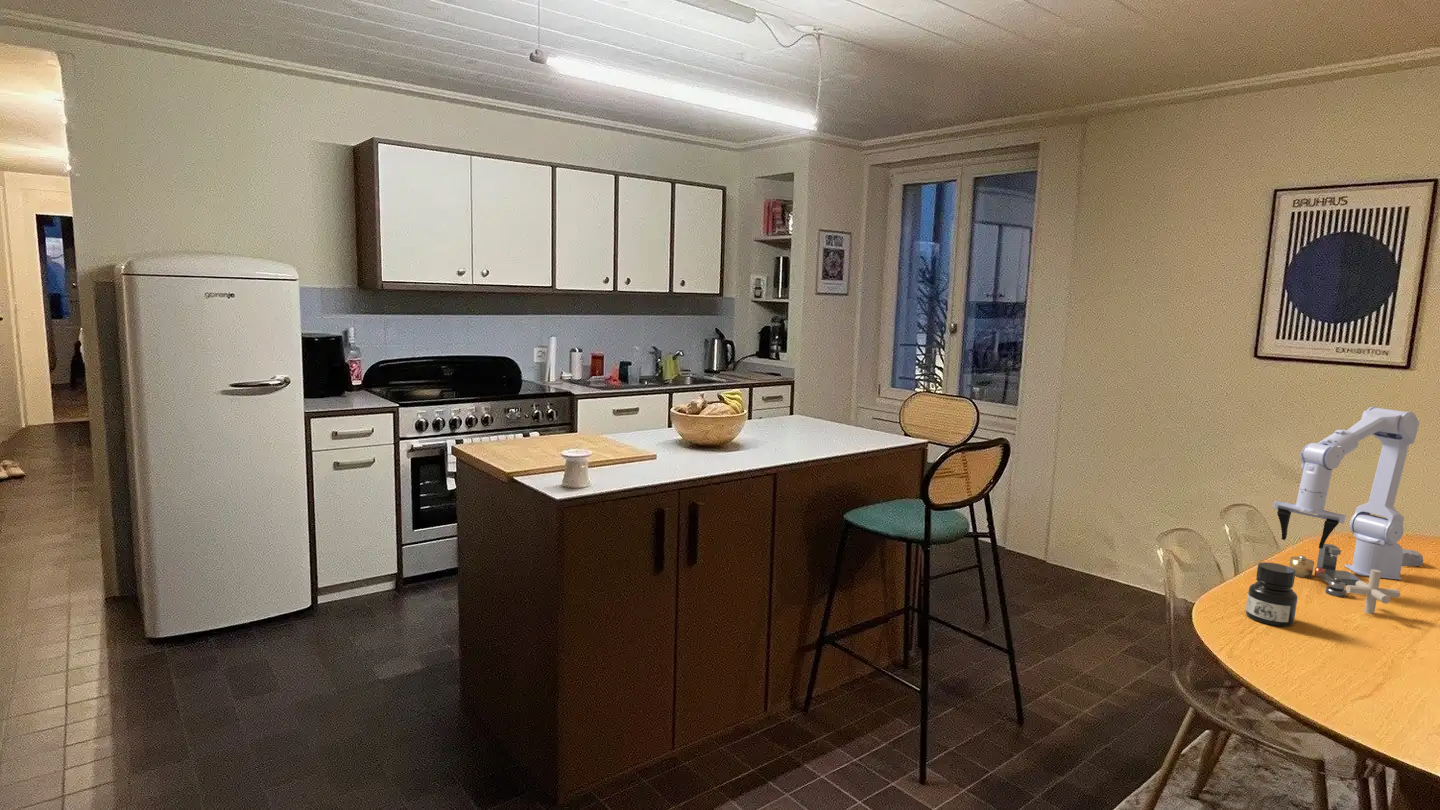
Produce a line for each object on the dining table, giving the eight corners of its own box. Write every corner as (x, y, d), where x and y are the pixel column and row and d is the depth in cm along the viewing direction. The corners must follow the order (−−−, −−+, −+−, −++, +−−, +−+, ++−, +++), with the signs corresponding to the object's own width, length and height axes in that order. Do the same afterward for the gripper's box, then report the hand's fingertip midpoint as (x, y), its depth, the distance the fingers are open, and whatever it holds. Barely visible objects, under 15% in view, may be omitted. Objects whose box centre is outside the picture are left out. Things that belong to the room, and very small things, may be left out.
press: (1337, 570, 211) (1341, 545, 210) (1361, 586, 199) (1365, 559, 198) (1307, 567, 213) (1311, 542, 212) (1329, 582, 201) (1333, 556, 200)
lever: (1324, 575, 202) (1325, 567, 202) (1346, 591, 191) (1348, 583, 191) (1310, 574, 203) (1311, 566, 202) (1332, 589, 192) (1333, 581, 192)
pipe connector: (1408, 623, 176) (1415, 580, 175) (1357, 618, 178) (1364, 575, 177) (1380, 606, 186) (1387, 565, 185) (1332, 601, 188) (1339, 561, 186)
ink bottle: (1235, 615, 177) (1242, 563, 176) (1254, 607, 182) (1261, 557, 180) (1284, 631, 169) (1292, 577, 168) (1303, 623, 174) (1311, 571, 172)
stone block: (1390, 573, 217) (1427, 567, 216) (1389, 556, 216) (1426, 550, 216) (1356, 560, 229) (1391, 555, 228) (1355, 544, 228) (1390, 538, 228)
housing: (1306, 573, 208) (1309, 554, 207) (1315, 579, 203) (1318, 560, 202) (1284, 571, 209) (1287, 552, 208) (1293, 577, 204) (1295, 558, 204)
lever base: (1340, 592, 195) (1343, 576, 194) (1349, 598, 191) (1351, 582, 190) (1322, 590, 196) (1324, 574, 195) (1330, 595, 192) (1332, 580, 191)
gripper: (1276, 485, 200) (1265, 537, 201) (1348, 499, 190) (1336, 554, 192) (1280, 483, 205) (1269, 534, 207) (1350, 497, 196) (1338, 550, 197)
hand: (1301, 543), depth 200 cm, fingers open, 7 cm apart
